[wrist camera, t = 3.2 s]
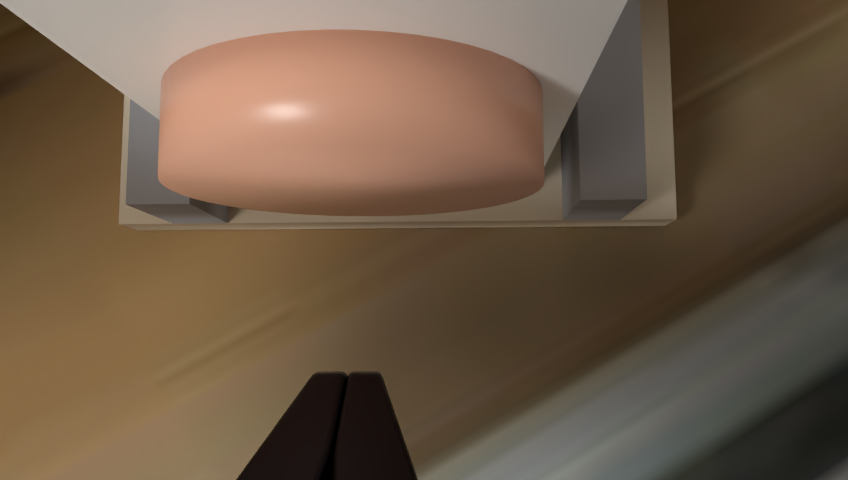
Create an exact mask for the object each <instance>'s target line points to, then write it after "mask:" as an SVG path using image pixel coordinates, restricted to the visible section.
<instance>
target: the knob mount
mask: <svg viewBox="0 0 848 480" xmlns="http://www.w3.org/2000/svg"><path fill="white" fill-rule="evenodd" d="M159 124H160V120H158V119H157V118H156V117H154V116H153V115H152V114H150V113H149V112H148V111H146V110H145V109H144V108H142V107H141V106H139V105H138V104H137V103H135V102H134V101H133V100H131V99H130V98H129V97H127V96H126V95H124V114H123V136H122V159H121V181H120V203H119V224H120V225H122V226H125V227H128V228H131V229H134V230H239V229H355V228H472V227H588V226H665V225H667V224H669V223H671V222H673V221H675V220H676V219H677V208H676V184H675V160H674V137H673V113H672V89H671V65H670V42H669V18H668V0H628V1H627V3H626V5H625V7H624V9H623V11H622V13H621V15H620V17H619V19H618V21H617V23H616V25H615V27H614V29H613V31H612V33H611V35H610V37H609V39H608V41H607V43H606V45H605V47H604V49H603V51H602V53H601V55H600V57H599V59H598V61H597V63H596V65H595V67H594V69H593V71H592V73H591V75H590V77H589V79H588V81H587V83H586V85H585V87H584V89H583V91H582V93H581V95H580V97H579V99H578V101H577V103H576V105H575V107H574V109H573V111H572V113H571V115H570V117H569V119H568V121H567V123H566V125H565V127H564V129H563V131H562V132H561V134H560V136H559V138H558V140H557V142H556V144H555V146H554V148H553V150H552V152H551V154H550V156H549V158H548V160H547V162H546V164H545V166H544V186H543V187H542V188H541V189H540V190H539V191H538V192H536V193H534V194H533V195H531V196H528V197H526V198H524V199H520V200H517V201H514V202H510V203H506V204H502V205H498V206H492V207H487V208H481V209H474V210H468V211H459V212H450V213H439V214H425V215H407V216H322V215H303V214H289V213H277V212H268V211H258V210H251V209H243V208H236V207H230V206H224V205H219V204H214V203H209V202H205V201H201V200H197V199H193V198H190V197H187V196H184V195H181V194H178V193H176V192H174V191H171V190H169V189H168V188H166V187H165V186H163V185H162V184H161V183H160V182H159V180H158V150H159Z"/></svg>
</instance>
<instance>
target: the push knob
mask: <svg viewBox="0 0 848 480" xmlns="http://www.w3.org/2000/svg"><path fill="white" fill-rule="evenodd" d="M627 1H628V0H0V4H2V5H3V6H5V7H6V8H7V9H9V10H10V11H11V12H13V13H14V14H15V15H17V16H18V17H20V18H21V19H22V20H24V21H25V22H26V23H28V24H29V25H30V26H32V27H33V28H35V29H36V30H37V31H39V32H40V33H41V34H43V35H44V36H45V37H47V38H48V39H50V40H51V41H52V42H54V43H55V44H56V45H58V46H59V47H60V48H62V49H63V50H65V51H66V52H67V53H69V54H70V55H71V56H73V57H74V58H75V59H77V60H78V61H79V62H81V63H82V64H84V65H85V66H86V67H88V68H89V69H90V70H92V71H93V72H94V73H96V74H97V75H99V76H100V77H101V78H103V79H104V80H105V81H107V82H108V83H109V84H111V85H112V86H114V87H115V88H116V89H118V90H119V91H120V92H122V93H123V94H124V95H126V96H127V97H129V98H130V99H131V100H133V101H134V102H135V103H137V104H138V105H139V106H141V107H142V108H144V109H145V110H146V111H148V112H149V113H150V114H152V115H153V116H154V117H156V118H157V119H158V120H160V124H159V150H158V180H159V182H160V183H161V184H162V185H163V186H165V187H166V188H168V189H169V190H171V191H174V192H176V193H178V194H181V195H184V196H187V197H190V198H193V199H197V200H201V201H205V202H209V203H214V204H219V205H224V206H230V207H236V208H243V209H251V210H258V211H268V212H277V213H289V214H303V215H322V216H407V215H425V214H439V213H450V212H459V211H468V210H474V209H481V208H487V207H492V206H498V205H502V204H506V203H510V202H514V201H517V200H520V199H524V198H526V197H528V196H531V195H533V194H534V193H536V192H538V191H539V190H540V189H541V188H542V187H543V186H544V166H545V164H546V162H547V160H548V158H549V156H550V154H551V152H552V150H553V148H554V146H555V144H556V142H557V140H558V138H559V136H560V134H561V132H562V131H563V129H564V127H565V125H566V123H567V121H568V119H569V117H570V115H571V113H572V111H573V109H574V107H575V105H576V103H577V101H578V99H579V97H580V95H581V93H582V91H583V89H584V87H585V85H586V83H587V81H588V79H589V77H590V75H591V73H592V71H593V69H594V67H595V65H596V63H597V61H598V59H599V57H600V55H601V53H602V51H603V49H604V47H605V45H606V43H607V41H608V39H609V37H610V35H611V33H612V31H613V29H614V27H615V25H616V23H617V21H618V19H619V17H620V15H621V13H622V11H623V9H624V7H625V5H626V3H627Z"/></svg>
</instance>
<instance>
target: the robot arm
mask: <svg viewBox="0 0 848 480" xmlns="http://www.w3.org/2000/svg"><path fill="white" fill-rule="evenodd" d="M236 480H418V479H417V476H416V473H415V470H414V467H413V464H412V461H411V459H410V456H409V453H408V450H407V447H406V444H405V441H404V438H403V435H402V432H401V429H400V426H399V424H398V421H397V418H396V415H395V412H394V409H393V406H392V403H391V400H390V397H389V394H388V391H387V389H386V386H385V383H384V380H383V377H382V375H381V374H380V373H379V372H351V373H350V374H349V375H347V374H346V373H344V372H317V373H315V374H313V375H312V377H311V378H310V379H309V380H308V382H307V383H306V385H305V386H304V387H303V389H302V390H301V391H300V393H299V394H298V396H297V397H296V398H295V400H294V401H293V402H292V404H291V405H290V407H289V408H288V409H287V411H286V412H285V413H284V415H283V416H282V418H281V419H280V420H279V422H278V423H277V424H276V426H275V427H274V429H273V430H272V431H271V433H270V434H269V435H268V437H267V438H266V440H265V441H264V442H263V444H262V445H261V446H260V448H259V449H258V451H257V452H256V453H255V455H254V456H253V457H252V459H251V460H250V462H249V463H248V464H247V466H246V467H245V468H244V470H243V471H242V473H241V474H240V475H239V477H238V478H237V479H236Z"/></svg>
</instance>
